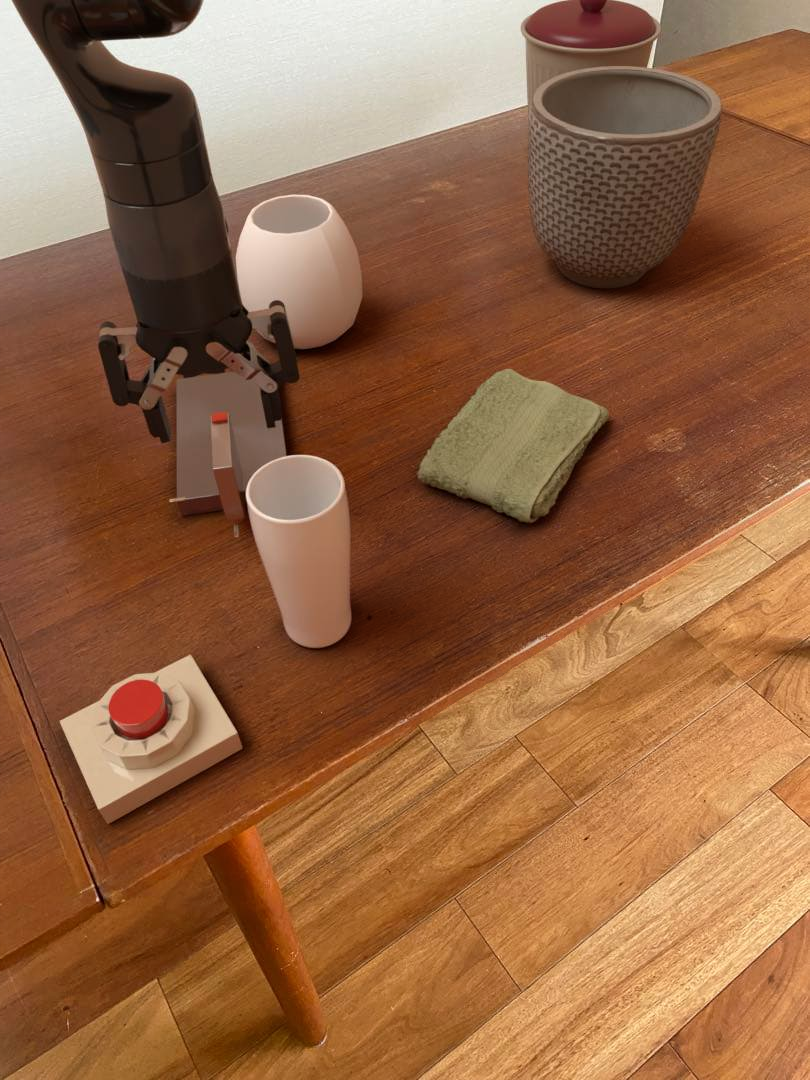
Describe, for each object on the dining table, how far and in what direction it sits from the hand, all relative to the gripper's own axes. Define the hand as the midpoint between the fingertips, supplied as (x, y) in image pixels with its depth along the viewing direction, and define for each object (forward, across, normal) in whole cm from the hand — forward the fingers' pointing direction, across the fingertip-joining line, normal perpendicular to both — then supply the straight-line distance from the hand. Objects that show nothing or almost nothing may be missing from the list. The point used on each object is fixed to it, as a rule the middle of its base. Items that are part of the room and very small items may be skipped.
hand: (219, 429), depth 71 cm
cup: (+9, +9, +27) cm, 30 cm away
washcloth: (+9, +26, +2) cm, 28 cm away
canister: (+10, +52, +63) cm, 82 cm away
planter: (+10, +45, +32) cm, 56 cm away
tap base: (+9, 0, +6) cm, 11 cm away
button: (+5, -7, -23) cm, 24 cm away
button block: (+9, -7, -23) cm, 25 cm away
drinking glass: (+9, +6, -15) cm, 18 cm away
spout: (+7, 0, 0) cm, 7 cm away
